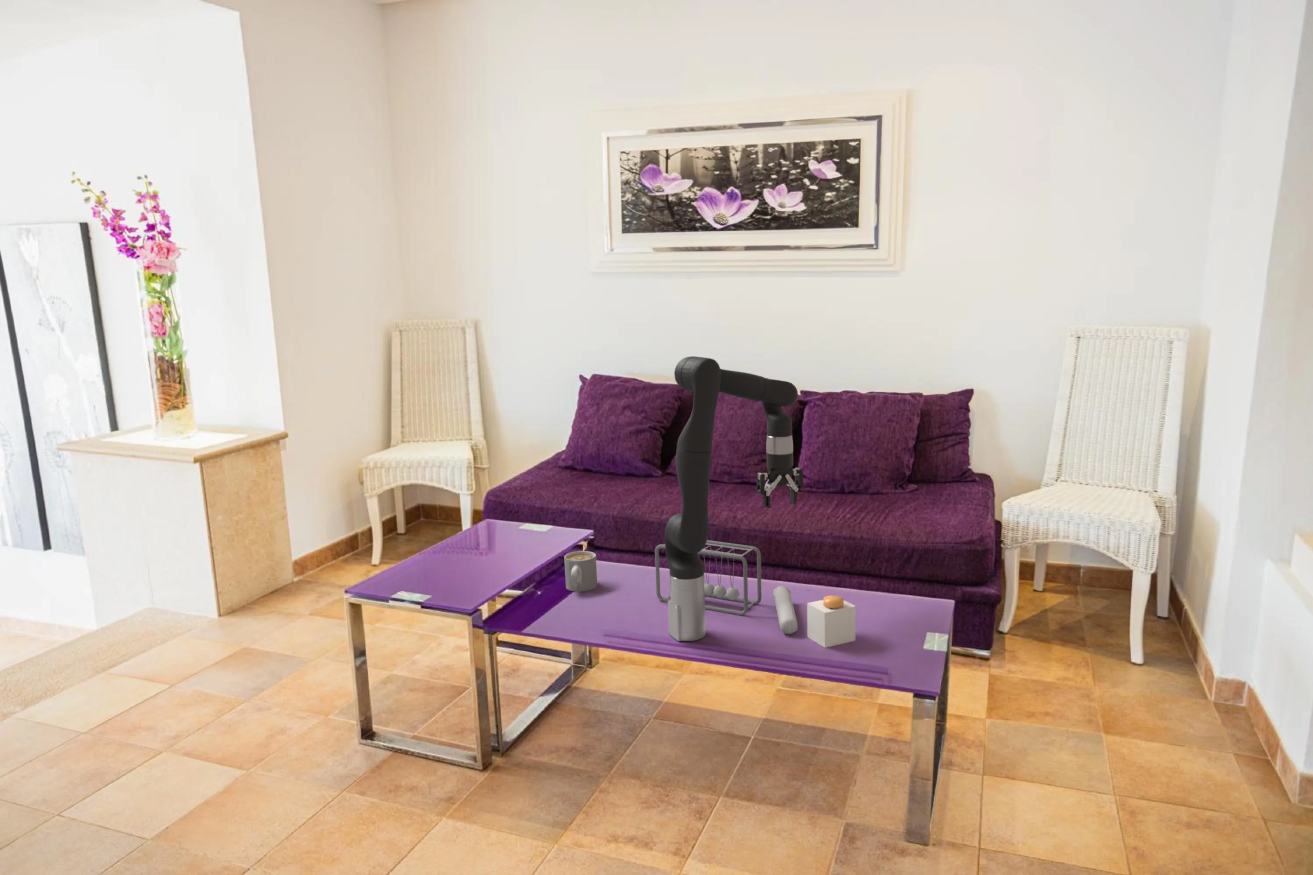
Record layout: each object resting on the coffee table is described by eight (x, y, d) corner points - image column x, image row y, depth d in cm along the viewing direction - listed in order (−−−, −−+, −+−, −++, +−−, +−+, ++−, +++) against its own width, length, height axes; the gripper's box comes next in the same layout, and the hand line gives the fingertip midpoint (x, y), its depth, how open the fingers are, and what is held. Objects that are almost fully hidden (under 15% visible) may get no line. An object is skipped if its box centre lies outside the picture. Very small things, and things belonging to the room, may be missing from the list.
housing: (824, 647, 233) (824, 612, 231) (807, 636, 240) (807, 602, 238) (855, 640, 236) (855, 606, 235) (837, 630, 244) (837, 596, 242)
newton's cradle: (762, 604, 264) (761, 546, 261) (747, 617, 255) (746, 557, 252) (673, 589, 279) (671, 534, 276) (656, 600, 270) (654, 543, 267)
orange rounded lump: (830, 616, 232) (831, 603, 232) (819, 610, 237) (819, 597, 237) (847, 612, 235) (847, 600, 234) (835, 606, 239) (836, 594, 239)
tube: (802, 634, 240) (793, 599, 265) (795, 616, 239) (787, 583, 264) (783, 640, 241) (776, 605, 265) (776, 622, 240) (770, 589, 264)
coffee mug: (574, 579, 292) (573, 549, 290) (602, 582, 288) (601, 552, 286) (555, 593, 279) (553, 562, 278) (583, 596, 276) (582, 565, 274)
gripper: (764, 455, 250) (765, 512, 253) (808, 450, 256) (808, 505, 259) (751, 451, 257) (752, 506, 260) (793, 445, 262) (794, 499, 265)
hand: (780, 505), depth 259 cm, fingers open, 8 cm apart
